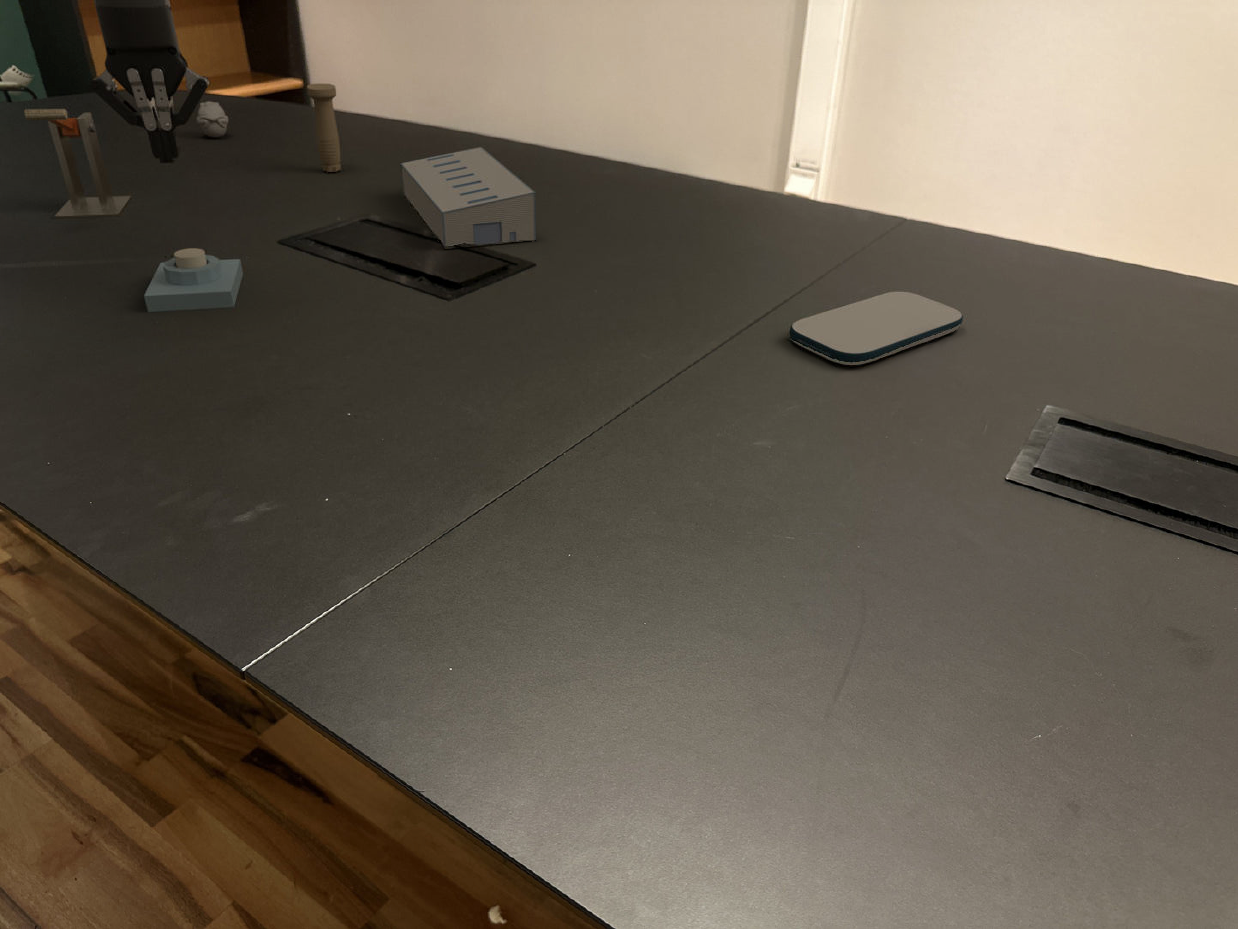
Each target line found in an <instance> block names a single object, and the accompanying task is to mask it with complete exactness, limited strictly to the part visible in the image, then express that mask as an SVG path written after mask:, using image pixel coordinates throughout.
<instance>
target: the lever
mask: <svg viewBox="0 0 1238 929" xmlns="http://www.w3.org/2000/svg"><path fill="white" fill-rule="evenodd" d="M23 112H24V117H25V119H26V120H27V121H47V122H48V121H49V122H51V123H53V124H55V125H58V126H60V127H62V132H63V135H64V136H67V137H69V139H82V136H81V132H80V129H79V125H78V121H77V118H78V117H69V116H68V111H67V110H66V108H25V109H24V111H23Z"/></svg>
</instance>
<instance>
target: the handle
mask: <svg viewBox="0 0 1238 929" xmlns="http://www.w3.org/2000/svg"><path fill="white" fill-rule="evenodd" d="M306 90H307V96H308V97H309V98H311V99H312V100H313V107H314V108H313V109H314V116H315V117H314V118H315V129H316V130H315V131H316V141H317V147H318V153H319V157H320V162H321V163H322V164H321V167H322V171H323V172H324V171H326V172H325V173H328V172H337V171H339V170H340V171H342V163H341V147H340V137H339V133H338V127H337V121H336V116H335V109H334V103H333V100H334V98H335V97H337V89H336V86H335V85H334V84H332V83H311V84H307V86H306ZM340 171H339V172H340ZM337 173H338V172H337Z"/></svg>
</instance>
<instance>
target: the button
mask: <svg viewBox="0 0 1238 929" xmlns="http://www.w3.org/2000/svg"><path fill="white" fill-rule="evenodd" d="M205 252H206V251H205V250H204V249H202V248H193V247H192V248H191V247H190V248H183V249H180V250H177V251H175V252H174V253H173V258H175V262H176V266H177V268H183V269H189V268H197V267H202V266H205V265H207V261H206V256H205V255H206V253H205Z"/></svg>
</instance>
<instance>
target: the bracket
mask: <svg viewBox="0 0 1238 929" xmlns="http://www.w3.org/2000/svg"><path fill="white" fill-rule="evenodd" d="M76 118H77V121H78V125H79V129H80V132H81V136H82V138H81V140H82V143H83V146H84V150H85V154H86V158H87V162H88V165H89V168H90V173H91V176H92V181H93V185H94V187H95V190H96V191H95V192H96V194H97V196H88V197H86V194H85V190H84V186H83V183H82V180H81V176H80V172H79V169H78V166H77V161H76V158H75V155H74V151H73V147H72V143H71V140H70V138H69V137H67V136H64V135H63V132H62V127H60V126H58V125H55V124H53V123H51V122H49V121H47V123H48V124H47V125H48V129H49V132H50V134H51V138H52V140H53V144H54V148H55V152H56V156H57V158H58V162H59V165H60V169H61V173H62V176H63V179H64V183H65V186H66V190H67V193H68V197H69V199H68V200H67V201H66V203H65V204H64V205H62V207H61V208H60V209H59V211H57V213H56V214H55V215H54V219H55V220H61V219H62V220H64V219H67V220H68V219H91V218H92V219H94V218H118V217H120V216H121V215H122V214H123V212H124V210H125V209H126V207H128V205H129V204H130V202H131V201H132V196H131V195H121V196H118V195H117V196H113V192H112V188H111V184H110V181H109V177H108V173H107V168H106V165H105V162H104V158H103V153H102V150H101V146H100V142H99V138H98V134H97V127H96V125H95V123H94V119H93V116H92V112H83V113H82V114H81V115H79V116H78V117H76Z"/></svg>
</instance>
